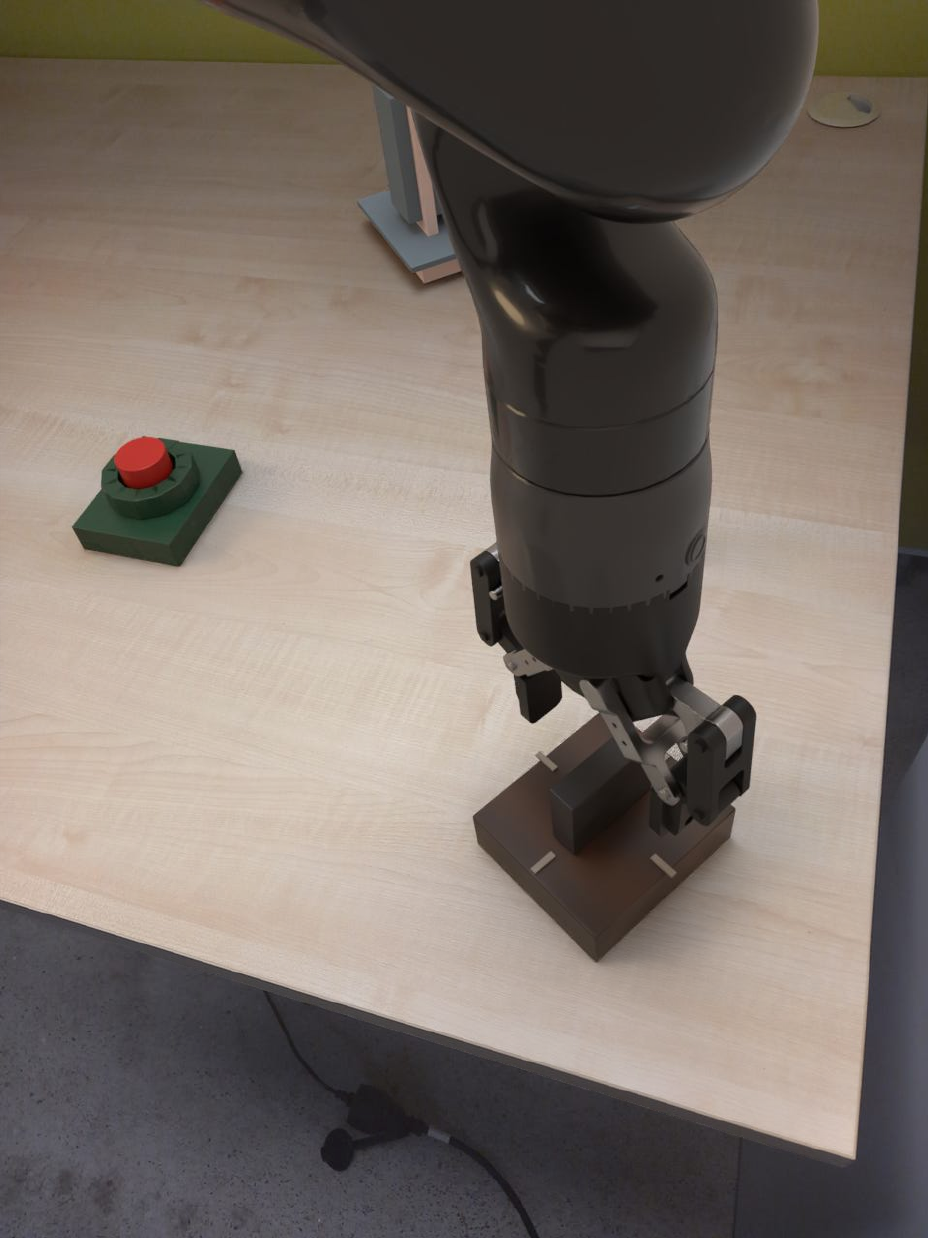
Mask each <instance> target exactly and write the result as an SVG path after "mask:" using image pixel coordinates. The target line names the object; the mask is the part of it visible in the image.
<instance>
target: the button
mask: <svg viewBox="0 0 928 1238" xmlns="http://www.w3.org/2000/svg"><path fill="white" fill-rule="evenodd" d="M157 438H158V437H154V436H146V437H142V436H140V437H137V438H134V439H132V440H129V441H127V442H125V443H124V444H123V445H121V446H120V447H119V448H118V450H117V451H116V453H114V454H115V458H114V462H115V465H116V467H117V469H118V471H119V473H120V475H121V477H122V479H123V481H124V483H125V484H126V485H127V486H129V487H131V488H134V489H144V488H149V487H153V486H155V485H157V484H159V483H160V482H162V481H164V480H165V479H167V478H168V477H169V475H170V474H171V472H172V468H173V464H172V461H171V459H170V457H169V454H168V452H167V450H166V447H165V445H164V443H163V442H162V441H161V440H159V439H157Z"/></svg>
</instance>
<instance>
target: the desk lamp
mask: <svg viewBox="0 0 928 1238" xmlns="http://www.w3.org/2000/svg"><path fill="white" fill-rule="evenodd" d="M371 89H372V94H373V100H374V107H375V111H376V119H377V124H378V129H379V136H380V140H381V141H380V142H381V148H382V152H383V159H384V164H385V172H386V177H387V182H388V189H387V190H384V191H381V192H377V193H374V194H371V195H368V196H365V197H361V198H359V199H356V205H357V207H358V208H359V209H360V210H361V212H362V213H363V214H364V216H366V218H367V219H368V220H369V222H370V223H371V224H372V225H373V227H374V228H375V229H376V230H377V231H378V233H379V234H380V236H381V237H382V238H383V239H384V240H385V242H387V244H388V246H390V248H391V249H392V250H393V252H394V253H395V254H396V256H398V259H400V261H402V262H403V264H404V265H405V267H406V268H407V269H408V270H409V272H410V273H411V274H416V275H417V276H418V278H419V279H420V280H421V281H422V283H423V284H428V283H430V282H434V281H437V280H439V279H442V278H445V277H448V276H451V275H454V274H457V273H459V272H462V270H461V268H460V265H459V263H458V260H457V258H456V255H455V253H454V250H453V247H452V244H451V241H450V238H449V235H448V232H447V228H446V225H445V222H444V219H443V216H442V213H441V210H440V206H439V203H438V200H437V197H436V194H435V191H434V188H433V185H432V182H431V179H430V175H429V172H428V169H427V166H426V163H425V160H424V156H423V153H422V150H421V147H420V143H419V140H418V136H417V133H416V129H415V125H414V122H413V118H412V114H411V110H410V108H409V107H408V106H406V105H404V104H403V103H401V102H400V101H398V100H397V99H395V98H394V97H392V96H391V95H389V94H388V93H386V92H385V91H383V90H382V89H380V88H379V87H377V86H375V85H374V84H372V83H371Z"/></svg>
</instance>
